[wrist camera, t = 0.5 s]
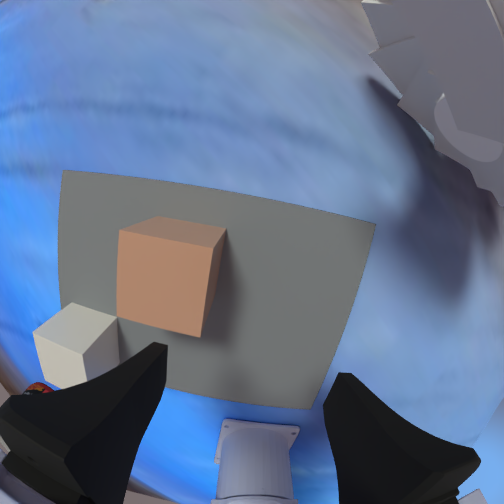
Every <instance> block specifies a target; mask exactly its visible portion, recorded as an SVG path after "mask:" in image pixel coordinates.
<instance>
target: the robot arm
mask: <svg viewBox="0 0 504 504" xmlns="http://www.w3.org/2000/svg"><path fill="white" fill-rule="evenodd" d="M167 357H168V345H166V344H162V343H158V342H152V343H151V344H149V345H148V346H147V347H145V348H144V349H142V350H141V351H140V352H138V353H137V354H135V355H134V356H132V357H131V358H129V359H128V360H126V361H125V362H123V363H122V364H120V365H118V366H117V367H115V368H113V369H111V370H109V371H108V372H106V373H104V374H102V375H100V376H98V377H96V378H94V379H91V380H89V381H86V382H84V383H81V384H78V385H75V386H71V387H68V388H65V389H61V390H56V391H52V392H46V393H39V394H28V395H11V396H10V397H9V398H8V399H7V400H6V401H5V403H4V404H3V405H2V406H1V407H0V436H1V437H2V439H3V440H4V442H5V443H6V445H7V446H8V448H9V449H10V452H9V453H8V455H6V454H5V453H4V452H3V451H2V450H1V449H0V504H123V501H124V497H125V493H126V489H127V485H128V481H129V477H130V474H131V470H132V467H133V463H134V460H135V457H136V454H137V451H138V447H139V445H140V442H141V440H142V438H143V436H144V433H145V431H146V429H147V427H148V425H149V423H150V421H151V419H152V417H153V415H154V413H155V411H156V408H157V406H158V404H159V402H160V400H161V397H162V394H163V391H164V388H165V384H166V381H167ZM323 410H324V420H325V426H326V430H327V434H328V438H329V442H330V445H331V449H332V453H333V457H334V461H335V465H336V470H337V479H338V490H339V504H487V502H486V500H485V498H484V496H483V494H482V493H481V491H480V489H476V490H475V491H473V492H471V493H469V494H467V495H466V496H464V497H462V498H461V499H459V500H457V498H456V496H457V495H458V494H459V490H458V487H459V486H460V485H461V484H462V483H463V482H464V481H465V480H466V479H468V478H469V477H470V476H471V475H472V473H474V472H475V471H476V469H477V468H478V467H479V465H480V463H481V459H480V458H479V456H478V455H477V453H476V452H475V450H474V449H473V448H469V447H465V446H461V445H457V444H454V443H451V442H448V441H445V440H443V439H440V438H438V437H435V436H433V435H431V434H429V433H427V432H425V431H423V430H421V429H420V428H418V427H416V426H414V425H413V424H411V423H410V422H408V421H407V420H405V419H404V418H402V417H401V416H400V415H398V414H397V413H396V412H395V411H393V410H392V409H391V408H389V407H388V406H387V405H386V404H385V403H384V402H382V401H381V400H380V399H379V398H378V397H377V396H376V395H375V394H374V393H373V392H372V391H370V390H369V389H368V388H367V387H366V386H365V385H364V384H363V383H362V382H361V381H360V380H359V379H358V378H356V377H355V376H354V375H353V374H352V373H341V372H339V373H338V375H337V377H336V379H335V382H334V384H333V386H332V388H331V390H330V392H329V394H328V396H327V398H326V400H325V402H324V404H323ZM227 425H228V426H227ZM299 431H300V428H299V427H298V426H290V425H276V424H265V423H256V422H248V421H240V420H234V419H224V420H223V422H222V427H221V432H220V436H219V441H218V445H217V450H216V454H215V459H214V462H215V463H216V464H220V465H219V474H218V482H217V491H216V499H212V500H211V504H298V500H297V499H294V496H293V486H292V476H291V466H290V457H289V450H290V448H291V446H292V444H293V443H294V441H295V439H296V437H297V435H298V433H299Z"/></svg>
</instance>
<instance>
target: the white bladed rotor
mask: <svg viewBox="0 0 504 504" xmlns="http://www.w3.org/2000/svg"><path fill="white" fill-rule="evenodd" d="M361 4H362V6H363V8H364V10H365V12H366V14H367V17H368V19H369V21H370V24H371V26H372V28H373V31H374V33H375V36H376V38H377V41H378V44H379V46H380V48H379V49H376V50H374V51H371V52H370V53H369V56H370V57H371V58H372V59H373V60H374V61H375V62H376V63H377V65H378V66H379V67H380V68H381V69H382V70H383V72H384V73H385V74H386V75H387V76H388V78H389V79H390V80H391V81H392V83H393V84H394V85H395V86H396V88H397V89H398V90H399V92H400V93H401V94H404V95H403V96H402V98H401V99H400V101H399V103H398V104H397V106H399V107H400V108H401V109H402V110H404V111H405V112H406V113H407V114H409V115H410V116H411V117H412V118H414V119H415V120H416V121H417V122H418V123H420V124H421V125H422V126H423V127H424V128H425V129H427V130H428V131H429V132H430V133H431V134H432V135H433V136H434V140H435V150H437V151H439V152H441V153H442V154H444V155H446V156H448V157H449V158H451V159H453V160H455V161H456V162H458V163H460V164H461V165H463V166H465V167H466V168H468V169H470V171H471V173H472V175H473V178H474V180H475V183H476V185H477V187H478V188H481V189H485V190H488V191H491V192H492V193H493V195H494V196H495V198H496V200H497V202H498V203H499V205H500V206H501V207H504V0H378V1H374V0H363V1H362V2H361Z"/></svg>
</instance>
